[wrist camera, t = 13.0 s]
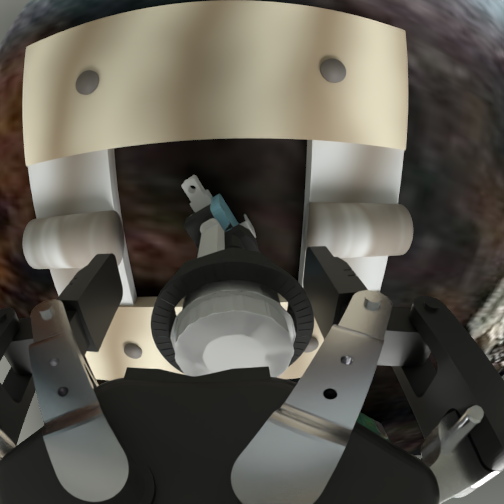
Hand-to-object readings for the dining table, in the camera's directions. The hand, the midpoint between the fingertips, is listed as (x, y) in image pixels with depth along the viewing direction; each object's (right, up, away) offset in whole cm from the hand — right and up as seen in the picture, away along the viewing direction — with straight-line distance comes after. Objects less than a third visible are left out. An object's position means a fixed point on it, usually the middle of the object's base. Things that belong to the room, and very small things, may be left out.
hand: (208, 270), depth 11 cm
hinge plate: (-1, +2, +5) cm, 6 cm away
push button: (0, +3, +5) cm, 6 cm away
